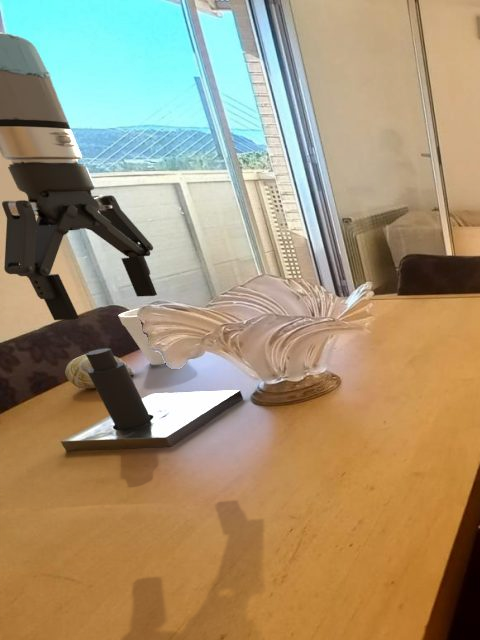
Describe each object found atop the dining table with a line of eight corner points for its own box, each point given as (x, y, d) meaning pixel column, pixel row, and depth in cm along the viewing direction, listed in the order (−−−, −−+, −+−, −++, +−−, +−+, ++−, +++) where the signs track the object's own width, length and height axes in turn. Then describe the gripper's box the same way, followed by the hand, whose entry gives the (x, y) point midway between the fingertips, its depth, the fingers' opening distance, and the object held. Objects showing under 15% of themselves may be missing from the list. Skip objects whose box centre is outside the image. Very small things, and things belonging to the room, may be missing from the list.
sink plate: (65, 451, 82) (60, 441, 81) (156, 401, 99) (152, 393, 98) (170, 447, 82) (166, 437, 82) (243, 398, 99) (240, 390, 98)
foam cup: (189, 350, 126) (169, 303, 121) (192, 359, 120) (172, 310, 115) (141, 360, 120) (118, 311, 115) (142, 370, 114) (118, 319, 109)
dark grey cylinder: (113, 438, 85) (70, 357, 79) (136, 425, 90) (97, 347, 83) (139, 437, 86) (98, 356, 79) (161, 424, 90) (124, 346, 83)
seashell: (125, 366, 115) (117, 334, 110) (142, 390, 112) (134, 359, 107) (64, 379, 107) (51, 346, 102) (80, 406, 105) (68, 373, 99)
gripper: (-32, 160, 56) (53, 330, 64) (149, 162, 79) (195, 287, 87) (-100, 161, 55) (-6, 332, 64) (102, 163, 79) (152, 288, 87)
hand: (110, 306), depth 75 cm, fingers open, 13 cm apart
